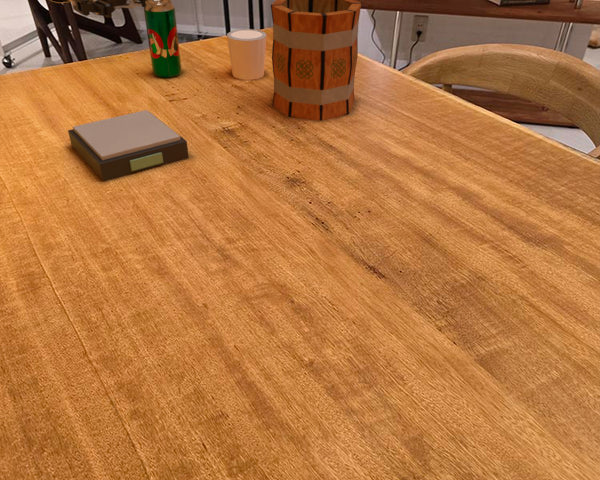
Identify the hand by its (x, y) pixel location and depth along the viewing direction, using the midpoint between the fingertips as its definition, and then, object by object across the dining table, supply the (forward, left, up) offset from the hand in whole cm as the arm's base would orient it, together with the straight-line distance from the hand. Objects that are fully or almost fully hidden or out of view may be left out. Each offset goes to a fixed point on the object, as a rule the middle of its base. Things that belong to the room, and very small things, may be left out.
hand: (131, 7), depth 106 cm
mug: (+16, -34, -9) cm, 38 cm away
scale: (-17, -37, -9) cm, 41 cm away
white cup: (+13, -19, -9) cm, 24 cm away
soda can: (+1, -11, -9) cm, 14 cm away
